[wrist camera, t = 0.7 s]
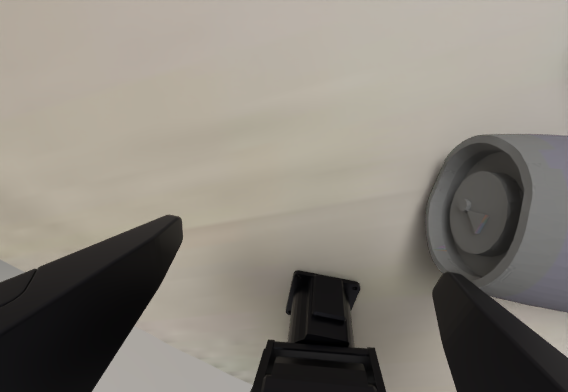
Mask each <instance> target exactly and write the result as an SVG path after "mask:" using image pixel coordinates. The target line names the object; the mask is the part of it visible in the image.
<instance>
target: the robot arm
mask: <svg viewBox="0 0 568 392" xmlns="http://www.w3.org/2000/svg"><path fill="white" fill-rule="evenodd" d="M182 240H183V230H182V219H181V218H180V217H179V216H174V215H165V216H163V217H160V218H158V219H156V220H153V221H151V222H148V223H146V224H143V225H141V226H138V227H136V228H133V229H131V230H129V231H126V232H124V233H121V234H119V235H116V236H114V237H111V238H109V239H106V240H104V241H102V242H99V243H97V244H94V245H92V246H89V247H87V248H84V249H82V250H79V251H77V252H75V253H72V254H70V255H67V256H65V257H62V258H60V259H57V260H55V261H52V262H50V263H48V264H45V265H43V266H40V267H39V268H38V269H33V270H30V271H28V272H25V273H23V274H20V275H18V276H16V277H13V278H10V279H8V280H5V281H3V282H0V392H92V391H93V389H94V387H95V386H96V384H97V383H98V381H99V380H100V378H101V376H102V375H103V373H104V372H105V370H106V369H107V367H108V366H109V364H110V362H111V361H112V360H113V358H114V356H115V355H116V353H117V352H118V350H119V349H120V347H121V346H122V344H123V342H124V341H125V339H126V338H127V336H128V335H129V333H130V332H131V330H132V328H133V327H134V325H135V324H136V322H137V321H138V319H139V318H140V316H141V315H142V313H143V311H144V310H145V308H146V307H147V305H148V304H149V302H150V301H151V299H152V298H153V296H154V294H155V293H156V291H157V290H158V288H159V286H160V285H161V283H162V281H163V279H164V277H165V275H166V273H167V271H168V269H169V267H170V265H171V263H172V261H173V259H174V257H175V255H176V253H177V251H178V249H179V247H180V245H181V243H182ZM359 291H360V284H359V283H358V282H355V281H350V280H345V279H340V278H335V277H329V276H324V275H319V274H314V273H309V272H304V271H295V272H294V275H293V279H292V284H291V288H290V293H289V298H288V302H287V307H286V313H287V314H288V315H291V318H290V327H289V335H288V342H275V340H268V342H267V345H266V349H264V351H263V354H262V357H261V361H260V364H259V367H258V371H257V374H256V377H255V381H254V384H253V387H252V389H251V391H250V392H386V390H385V386H384V382H383V378H382V374H381V370H380V367H379V363H378V359H377V355H376V351H375V348H370V347H367V348H354V340H353V330H352V321H351V309H352V307H353V305H354V302H355V300H356V298H357V295H358V293H359ZM432 296H433V301H434V306H435V311H436V316H437V321H438V326H439V331H440V336H441V340H442V344H443V348H444V351H445V355H446V358H447V361H448V364H449V368H450V371H451V374H452V377H453V381H454V384H455V387H456V390H457V392H568V358H567V357H566V356H565V355H563V354H562V353H561V352H560V351H558V350H557V349H556V348H555V347H553V346H552V345H551V344H549V343H548V342H547V341H546V340H544V339H543V338H542V337H541V336H539V335H538V334H537V333H535V332H534V331H533V330H532V329H530V328H529V327H528V326H527V325H525V324H524V323H523V322H522V321H520V320H519V319H518V318H516V317H515V316H514V315H513V314H511V313H510V312H509V311H508V310H506V309H505V308H504V307H502V306H501V305H500V304H499V303H497V302H496V301H495V300H494V299H492V298H491V297H490V296H488V295H487V294H486V293H485V292H483V291H482V290H481V289H480V288H478V287H477V286H476V285H475V284H473V283H472V282H471V281H469V280H468V279H467V278H466V277H464V276H463V275H462V274H459V273H455V272H450V271H446V272H444V273H443V274H442V276H441V277H440V279H439V280H438V282H437V284H436V285H435V287H434V288H433V292H432Z"/></svg>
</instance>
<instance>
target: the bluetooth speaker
mask: <svg viewBox="0 0 568 392" xmlns="http://www.w3.org/2000/svg"><path fill="white" fill-rule="evenodd" d="M426 237H427V243H428V248H429V251H430V254H431V257H432V259H433V261H434V263H435V265H436V266H437V267H438V269H439V270H440V271H441V272H442V273H444V272H446V271H450V272H455V273H459V274H462V275H463V276H464V277H466V278H467V279H468V280H469V281H471V282H472V283H473V284H475V285H476V286H477V287H478V288H480V289H481V290H482V291H483V292H485V293H486V294H487V295H489V296H492V297H496V298H500V299H504V300H509V301H513V302H517V303H521V304H526V305H531V306H536V307H541V308H547V309H552V310H557V311H562V312H567V313H568V136H561V135H542V134H494V135H478V136H474V137H471V138H469V139H467V140H465V141H463V142H462V143H460V144H459V145H458V146H456V147H455V148H454V149H453V150H452V151H451V152H450V154H449V155H448V156H447V158H446V159H445V162H444V164H443V166H442V169H441V171H440V173H439V176H438V178H437V180H436V183H435V185H434V187H433V190H432V192H431V194H430V197H429V199H428V204H427V208H426Z"/></svg>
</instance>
